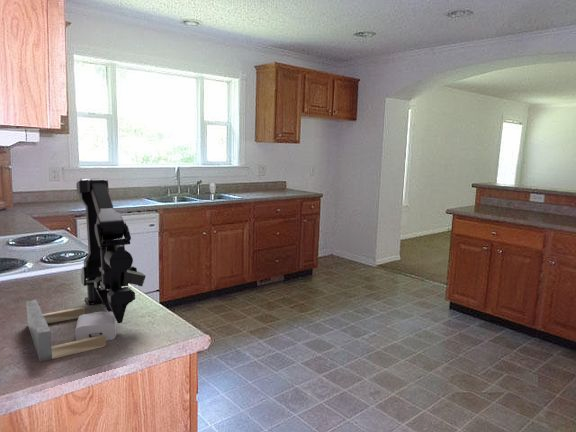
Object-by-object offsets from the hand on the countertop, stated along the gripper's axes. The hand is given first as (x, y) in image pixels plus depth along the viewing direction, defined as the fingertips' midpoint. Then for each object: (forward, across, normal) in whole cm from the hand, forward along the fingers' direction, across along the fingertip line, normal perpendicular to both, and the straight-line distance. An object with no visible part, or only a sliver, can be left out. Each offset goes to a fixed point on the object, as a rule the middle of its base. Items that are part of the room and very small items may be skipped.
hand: (115, 317), depth 120 cm
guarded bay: (+2, 0, +13) cm, 13 cm away
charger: (+2, -1, +5) cm, 6 cm away
